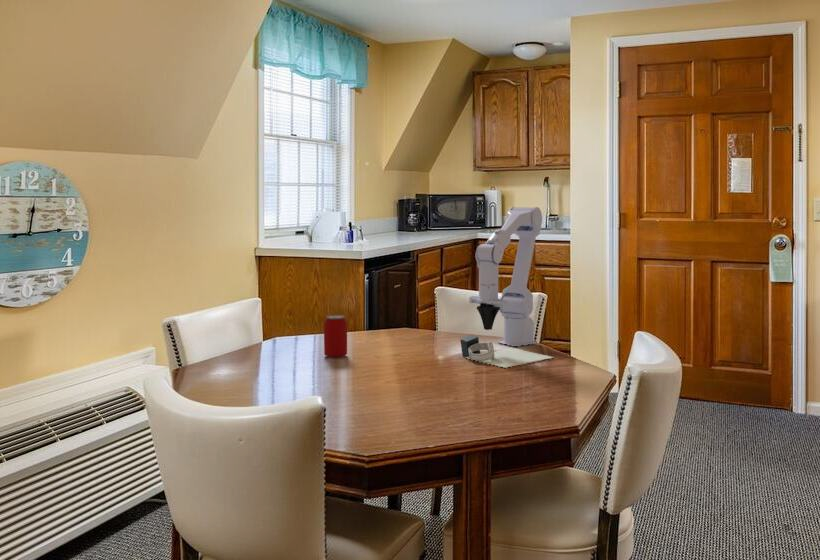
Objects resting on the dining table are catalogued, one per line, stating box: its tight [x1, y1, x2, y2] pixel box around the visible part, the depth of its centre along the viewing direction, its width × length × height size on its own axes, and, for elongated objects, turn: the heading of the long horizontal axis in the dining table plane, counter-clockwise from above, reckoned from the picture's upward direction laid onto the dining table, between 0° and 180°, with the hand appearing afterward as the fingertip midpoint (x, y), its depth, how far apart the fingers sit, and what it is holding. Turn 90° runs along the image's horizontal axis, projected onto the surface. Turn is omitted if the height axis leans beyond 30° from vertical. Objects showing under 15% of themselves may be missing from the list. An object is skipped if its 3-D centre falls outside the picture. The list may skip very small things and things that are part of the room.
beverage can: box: [323, 314, 348, 359], centre depth 217 cm, size 7×7×12 cm
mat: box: [465, 348, 554, 369], centre depth 214 cm, size 20×16×1 cm
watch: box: [460, 334, 495, 362], centre depth 214 cm, size 6×8×11 cm
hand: (488, 329), depth 221 cm, fingers closed
